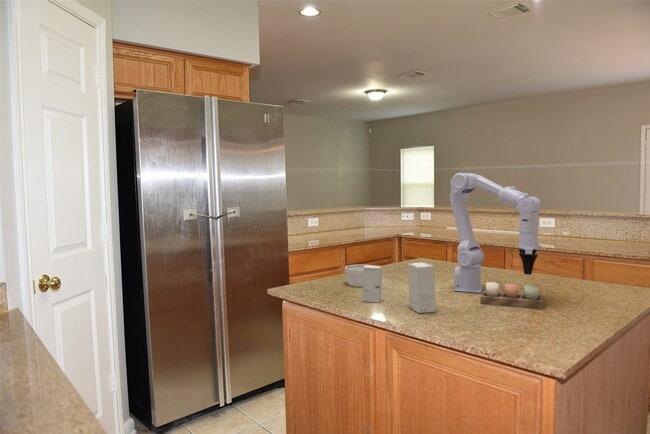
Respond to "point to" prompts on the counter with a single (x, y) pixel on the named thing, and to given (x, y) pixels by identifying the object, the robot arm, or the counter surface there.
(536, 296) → the sage button
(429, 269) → the skincare box
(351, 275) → the ramekin
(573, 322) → the counter surface
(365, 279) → the skincare box
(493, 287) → the ivory button
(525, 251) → the robot arm
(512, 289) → the terracotta button
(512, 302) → the button panel
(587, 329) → the counter surface
